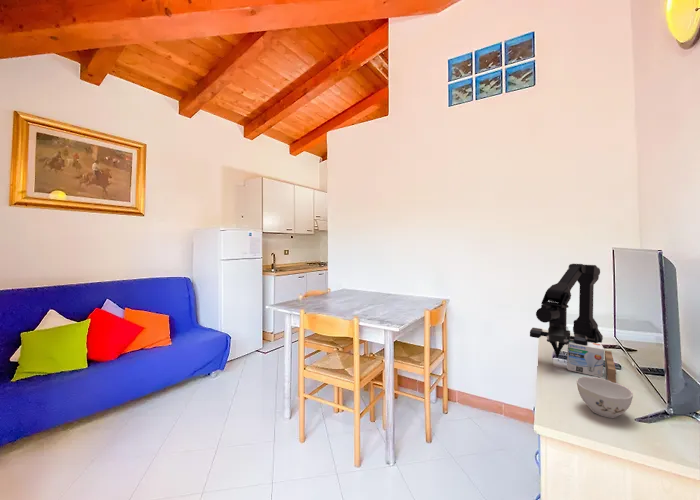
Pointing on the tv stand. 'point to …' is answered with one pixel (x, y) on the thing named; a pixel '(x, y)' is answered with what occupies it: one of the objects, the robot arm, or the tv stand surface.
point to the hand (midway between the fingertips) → (557, 357)
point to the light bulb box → (585, 358)
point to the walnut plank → (610, 367)
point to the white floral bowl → (604, 396)
